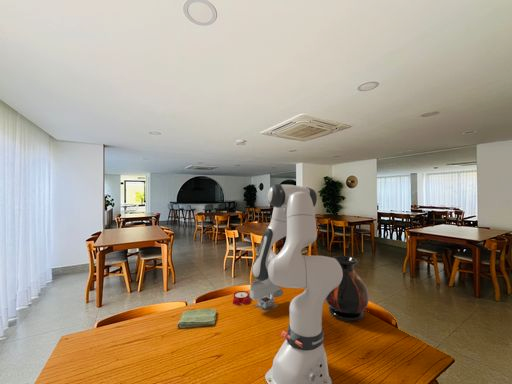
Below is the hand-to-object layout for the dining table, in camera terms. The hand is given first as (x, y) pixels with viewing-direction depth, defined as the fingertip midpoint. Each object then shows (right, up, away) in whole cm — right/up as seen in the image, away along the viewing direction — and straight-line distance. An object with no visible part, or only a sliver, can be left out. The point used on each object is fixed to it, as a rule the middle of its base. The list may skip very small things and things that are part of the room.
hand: (265, 302), depth 116 cm
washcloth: (-34, -4, -11) cm, 36 cm away
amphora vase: (+41, -2, -7) cm, 41 cm away
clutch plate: (0, -1, 0) cm, 1 cm away
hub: (+4, -3, +17) cm, 18 cm away
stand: (0, -3, 0) cm, 3 cm away
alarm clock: (-14, -4, +7) cm, 16 cm away
